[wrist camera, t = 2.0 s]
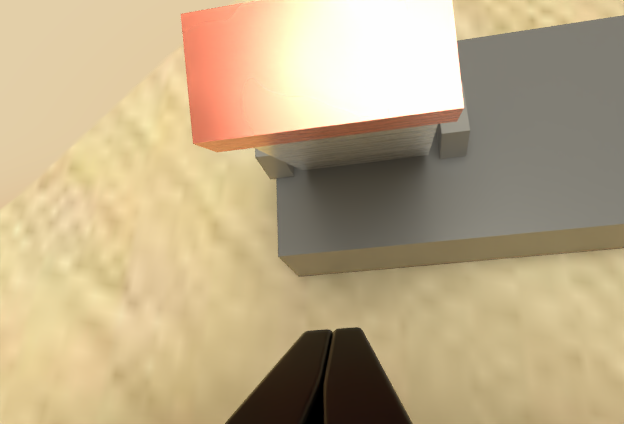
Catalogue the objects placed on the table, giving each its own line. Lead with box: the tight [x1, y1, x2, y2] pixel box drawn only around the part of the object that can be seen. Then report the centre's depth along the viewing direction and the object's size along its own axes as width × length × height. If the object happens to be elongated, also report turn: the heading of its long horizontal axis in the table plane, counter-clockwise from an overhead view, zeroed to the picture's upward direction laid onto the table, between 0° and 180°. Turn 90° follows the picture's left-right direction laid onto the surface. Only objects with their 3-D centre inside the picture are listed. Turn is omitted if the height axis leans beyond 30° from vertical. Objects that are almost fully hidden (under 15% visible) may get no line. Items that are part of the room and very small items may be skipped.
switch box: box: [255, 16, 624, 276], centre depth 18 cm, size 7×20×5 cm, turn 93°
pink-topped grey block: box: [181, 0, 464, 170], centre depth 13 cm, size 2×4×9 cm, turn 93°
